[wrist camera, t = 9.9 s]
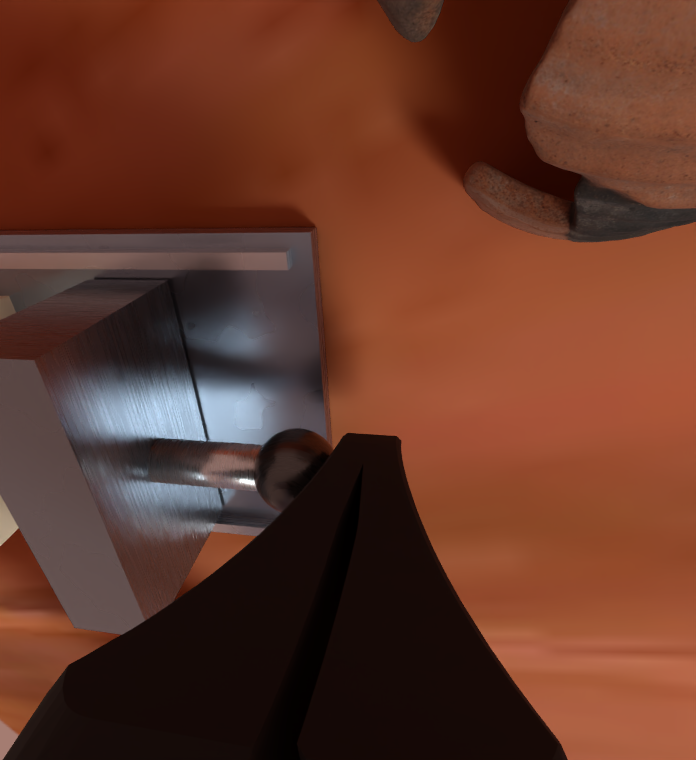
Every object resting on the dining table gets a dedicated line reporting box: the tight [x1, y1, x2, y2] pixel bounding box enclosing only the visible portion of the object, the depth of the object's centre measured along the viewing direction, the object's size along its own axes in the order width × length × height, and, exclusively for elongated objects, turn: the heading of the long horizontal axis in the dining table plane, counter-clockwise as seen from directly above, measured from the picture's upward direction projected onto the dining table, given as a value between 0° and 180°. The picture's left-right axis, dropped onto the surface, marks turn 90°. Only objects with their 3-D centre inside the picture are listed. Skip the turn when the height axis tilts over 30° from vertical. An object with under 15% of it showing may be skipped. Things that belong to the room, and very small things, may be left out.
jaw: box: [0, 279, 333, 635], centre depth 11 cm, size 8×7×4 cm
